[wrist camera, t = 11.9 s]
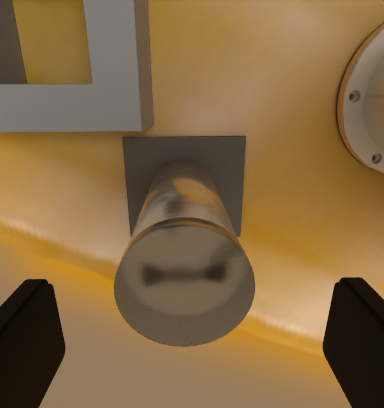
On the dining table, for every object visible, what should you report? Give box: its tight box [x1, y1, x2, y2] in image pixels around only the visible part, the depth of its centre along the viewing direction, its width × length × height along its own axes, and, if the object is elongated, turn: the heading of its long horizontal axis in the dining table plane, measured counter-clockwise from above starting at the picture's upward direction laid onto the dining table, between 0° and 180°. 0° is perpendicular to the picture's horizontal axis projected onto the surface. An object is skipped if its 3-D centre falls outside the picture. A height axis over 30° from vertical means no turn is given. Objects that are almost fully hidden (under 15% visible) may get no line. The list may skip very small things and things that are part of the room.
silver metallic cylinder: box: [114, 159, 255, 347], centre depth 18 cm, size 6×6×14 cm
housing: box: [0, 0, 154, 132], centre depth 17 cm, size 12×12×7 cm
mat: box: [123, 136, 246, 237], centre depth 24 cm, size 10×9×1 cm
